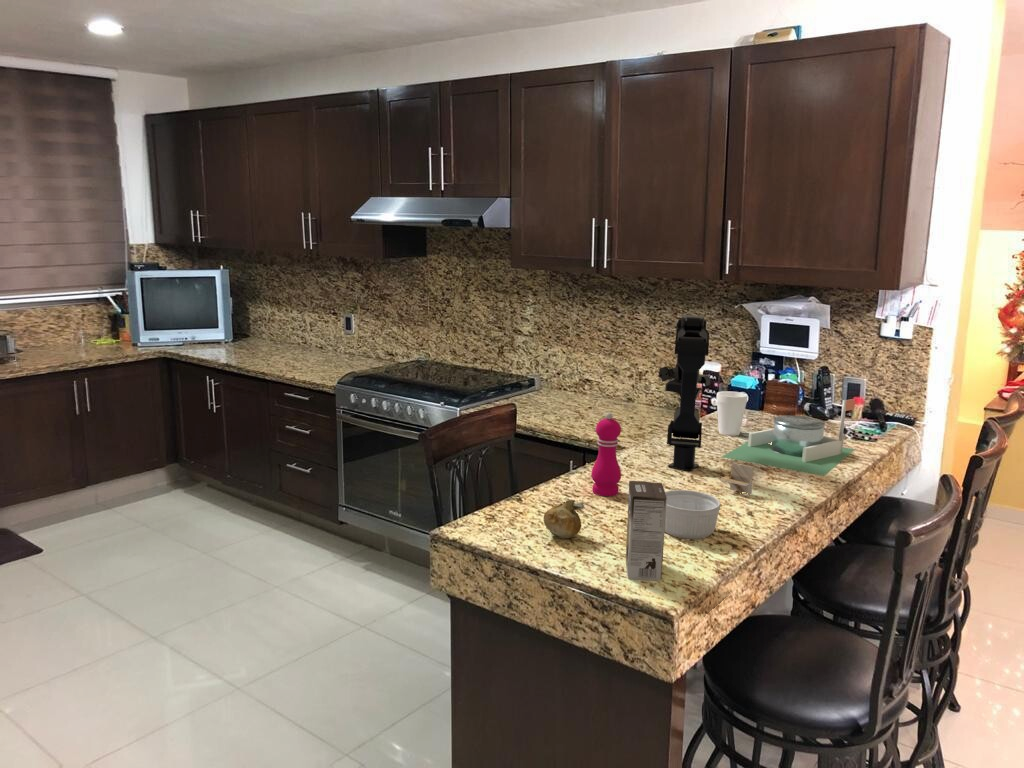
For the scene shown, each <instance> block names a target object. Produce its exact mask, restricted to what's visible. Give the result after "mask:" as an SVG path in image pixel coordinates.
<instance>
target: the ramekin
mask: <svg viewBox="0 0 1024 768" xmlns="http://www.w3.org/2000/svg"><path fill="white" fill-rule="evenodd" d="M665 494H666V497H667V503H666V519H665V533H666V534H667V535H671V536H672V537H676V538H680V539H686V540H698V539H706V538H708V537H710V536H711V535H712V534H713V533H714V531H715V529H716V526H717V521H718V516H719V512H720V510H721V502H720V500H719V499H718V498H717V497H716V496H713V495H711V494H708V493H705V492H702V491H696V490H689V489H672V490H666V491H665Z"/></svg>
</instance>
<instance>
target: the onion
mask: <svg viewBox="0 0 1024 768" xmlns="http://www.w3.org/2000/svg"><path fill="white" fill-rule="evenodd" d="M575 502H576V500H574V499H568V500H566V501H562V502H561V503H558V504H557V505H556V504H555V505H554V506H553V507H550V508H549V509H548V510H546V511H545V513H544V515H543V523H544V526H545V527H546V528H547V530H545V531H546V532H549V533H551V535H552V536H554V537H556V538H558V539H559V538H560V539H572V538H574V537H575V536H577V535H578V534H579V532H580V531H581V528H582V521H581V518H580V515H579V514H578V513H577V511H576V510H583V509H585V502H576V503H575Z"/></svg>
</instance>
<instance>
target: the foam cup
mask: <svg viewBox="0 0 1024 768" xmlns="http://www.w3.org/2000/svg"><path fill="white" fill-rule="evenodd" d="M715 399H716V400H715V401H716V410H717V421H718V422H717V425H718V433H719V434H720V435H724V436H730V437H732V436H739V435H740V434H741V429H742V424H743V420H744V415H745V411H746V406H747V403H748V394H747V393H745V392H741V391H740V392H739V391H729V390H728V391H727V390H725V391H722V390H721V391H718V392H716V398H715Z"/></svg>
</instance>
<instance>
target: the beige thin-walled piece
mask: <svg viewBox="0 0 1024 768" xmlns="http://www.w3.org/2000/svg"><path fill="white" fill-rule="evenodd" d="M855 404H856V398H850V399H842V406H841V415H840V423H839V424H840V425H839V434H838V438H835V437H830V436H826V435H823V444H818V445H813V446H809V447H804V448H803V455H802V462H808V461H812V460H817V459H821V458H826V457H830V456H834V455H839V454H842V447H844V446H843V444H844V439H843V438H844V430H845V429H844V428H845V419H846V412H848V411H854V410H855ZM773 429H774V428H770V429H764V430H759V431H753V432H749V433H748V439H747V442H748V446H750V447H752V446H757V445H762V444H767V443H771V442H772V441H773ZM770 449H771V450H772V451H774V450H773V449H772V446H771V447H770ZM774 452H776V451H774ZM777 453H778V452H777ZM780 454H781V453H780Z"/></svg>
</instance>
